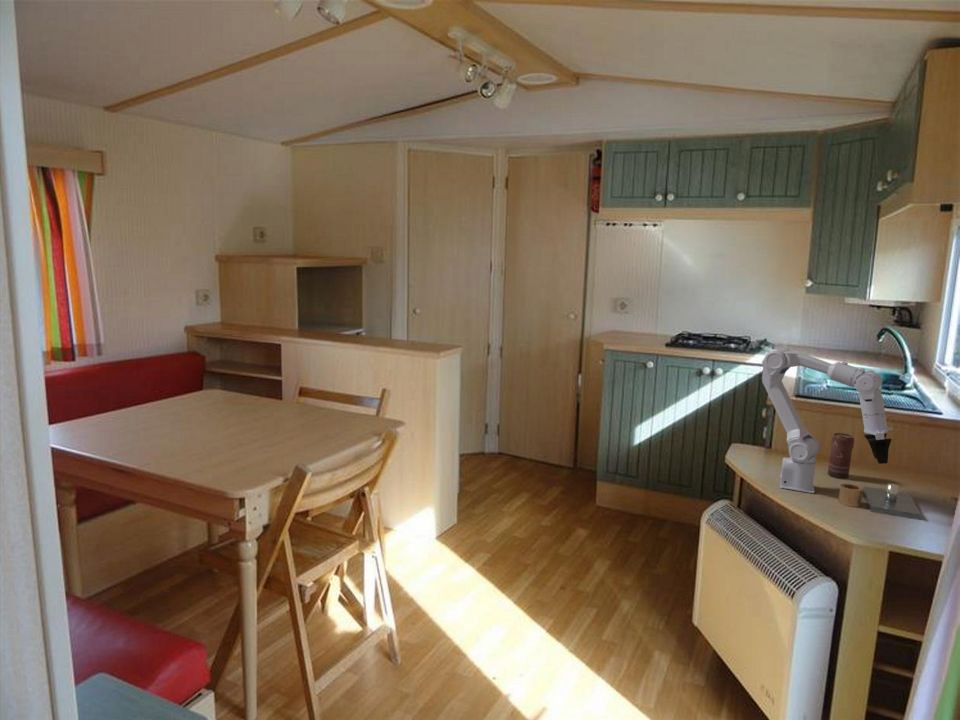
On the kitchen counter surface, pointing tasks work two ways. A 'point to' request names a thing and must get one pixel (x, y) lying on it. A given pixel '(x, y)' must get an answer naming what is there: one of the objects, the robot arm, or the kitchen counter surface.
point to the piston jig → (891, 502)
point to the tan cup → (850, 495)
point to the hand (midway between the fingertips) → (881, 460)
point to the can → (840, 455)
